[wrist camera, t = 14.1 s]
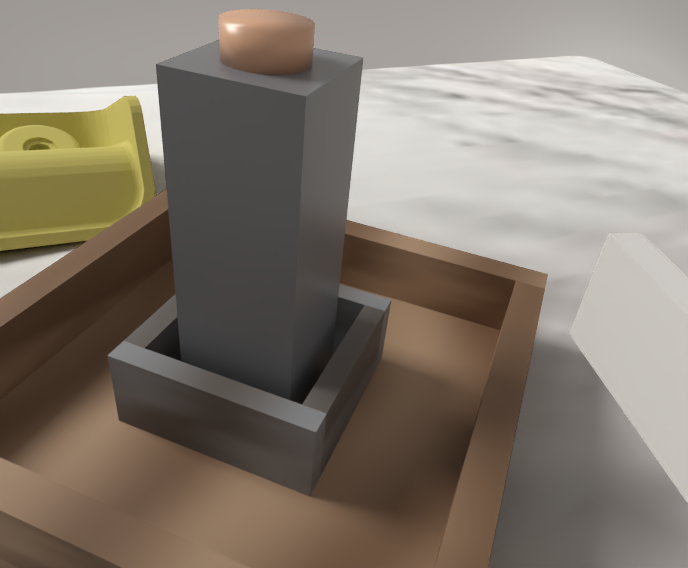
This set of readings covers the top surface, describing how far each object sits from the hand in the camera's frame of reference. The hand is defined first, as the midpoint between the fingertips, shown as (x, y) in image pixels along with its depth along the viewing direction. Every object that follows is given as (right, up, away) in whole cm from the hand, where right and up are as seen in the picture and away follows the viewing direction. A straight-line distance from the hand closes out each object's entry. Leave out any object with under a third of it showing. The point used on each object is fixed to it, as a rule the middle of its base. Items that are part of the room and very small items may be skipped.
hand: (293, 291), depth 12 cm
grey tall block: (-2, -4, +11) cm, 12 cm away
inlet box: (-2, -4, +11) cm, 12 cm away
